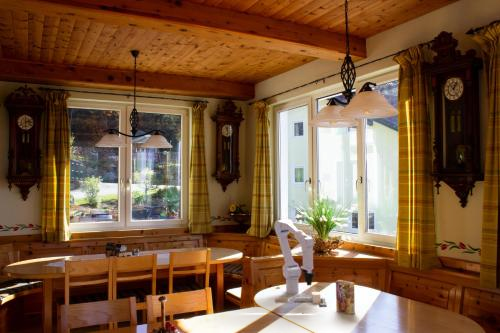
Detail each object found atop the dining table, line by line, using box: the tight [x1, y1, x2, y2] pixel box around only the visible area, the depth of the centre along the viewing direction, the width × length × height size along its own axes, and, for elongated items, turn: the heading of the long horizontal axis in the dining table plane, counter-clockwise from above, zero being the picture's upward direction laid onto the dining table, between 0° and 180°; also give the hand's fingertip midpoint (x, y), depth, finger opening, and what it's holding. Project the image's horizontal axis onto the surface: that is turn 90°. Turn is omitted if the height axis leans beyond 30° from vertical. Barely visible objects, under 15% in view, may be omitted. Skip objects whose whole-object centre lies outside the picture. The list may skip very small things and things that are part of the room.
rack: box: [294, 296, 327, 308], centre depth 233 cm, size 12×18×3 cm, turn 84°
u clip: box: [310, 291, 321, 304], centre depth 233 cm, size 5×4×4 cm
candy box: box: [335, 279, 356, 315], centre depth 218 cm, size 9×4×15 cm, turn 39°
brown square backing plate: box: [274, 298, 289, 304], centre depth 235 cm, size 8×7×1 cm
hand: (308, 283), depth 238 cm, fingers open, 7 cm apart
